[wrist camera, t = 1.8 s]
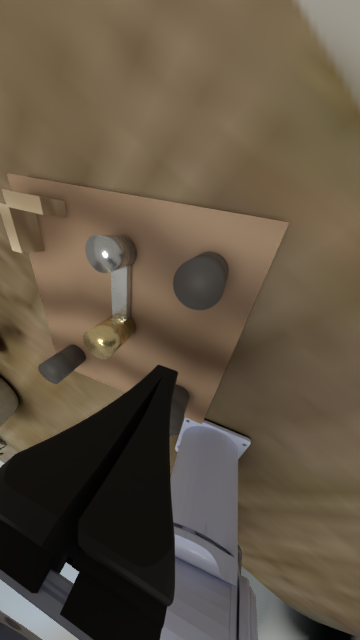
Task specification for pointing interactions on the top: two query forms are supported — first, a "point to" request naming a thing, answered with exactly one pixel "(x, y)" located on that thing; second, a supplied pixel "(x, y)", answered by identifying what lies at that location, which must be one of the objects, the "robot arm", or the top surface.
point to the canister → (7, 402)
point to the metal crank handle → (116, 259)
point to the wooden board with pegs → (143, 283)
